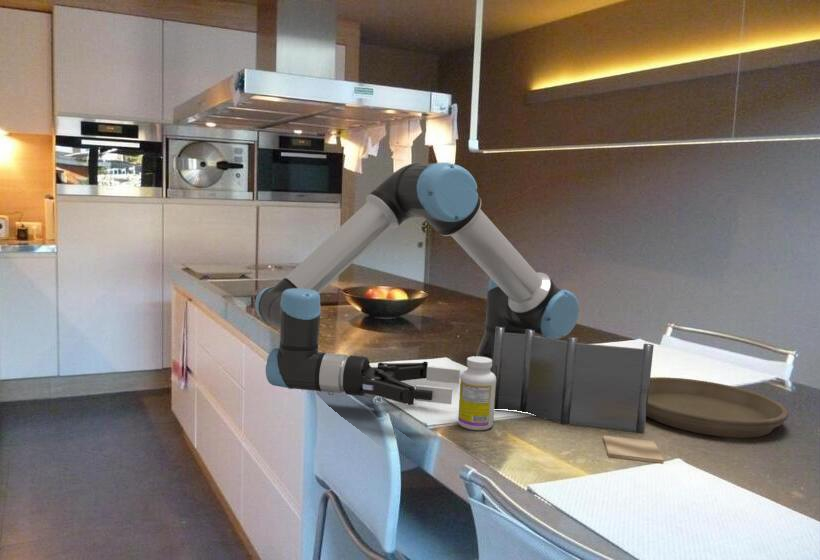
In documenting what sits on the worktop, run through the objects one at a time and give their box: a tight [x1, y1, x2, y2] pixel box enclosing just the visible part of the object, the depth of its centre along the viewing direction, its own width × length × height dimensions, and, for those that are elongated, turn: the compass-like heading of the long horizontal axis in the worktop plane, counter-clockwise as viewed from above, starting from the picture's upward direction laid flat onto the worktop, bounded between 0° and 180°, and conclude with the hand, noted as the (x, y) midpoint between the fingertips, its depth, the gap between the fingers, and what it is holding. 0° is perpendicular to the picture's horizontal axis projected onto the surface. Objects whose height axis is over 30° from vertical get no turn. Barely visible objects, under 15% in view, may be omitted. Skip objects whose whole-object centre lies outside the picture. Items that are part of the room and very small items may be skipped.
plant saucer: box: [646, 376, 789, 439], centre depth 143 cm, size 31×31×5 cm
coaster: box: [602, 435, 665, 464], centre depth 120 cm, size 9×9×1 cm
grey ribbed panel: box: [491, 327, 654, 434], centre depth 134 cm, size 6×30×17 cm, turn 80°
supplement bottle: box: [457, 355, 496, 431], centre depth 128 cm, size 7×7×13 cm
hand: (455, 385), depth 128 cm, fingers open, 13 cm apart
